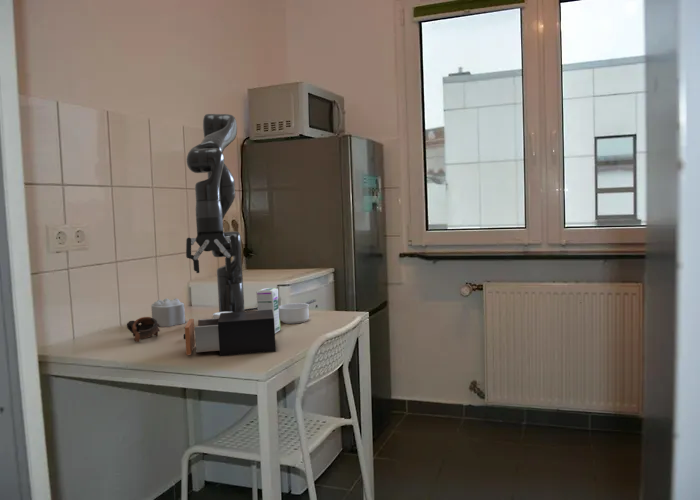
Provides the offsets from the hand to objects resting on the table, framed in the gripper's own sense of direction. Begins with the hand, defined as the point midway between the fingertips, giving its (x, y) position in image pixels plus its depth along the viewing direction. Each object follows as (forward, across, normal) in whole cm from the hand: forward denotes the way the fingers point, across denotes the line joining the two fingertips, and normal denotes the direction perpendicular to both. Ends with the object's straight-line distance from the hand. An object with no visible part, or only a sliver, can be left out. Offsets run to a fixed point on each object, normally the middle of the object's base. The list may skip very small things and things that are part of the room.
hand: (212, 271), depth 164 cm
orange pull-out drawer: (+22, +1, -1) cm, 22 cm away
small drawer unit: (+23, -9, +1) cm, 25 cm away
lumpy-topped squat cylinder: (+21, +11, -52) cm, 57 cm away
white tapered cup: (+22, -5, -22) cm, 32 cm away
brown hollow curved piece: (+22, +20, -28) cm, 41 cm away
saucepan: (+22, -35, -31) cm, 51 cm away
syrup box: (+23, -19, -16) cm, 34 cm away
